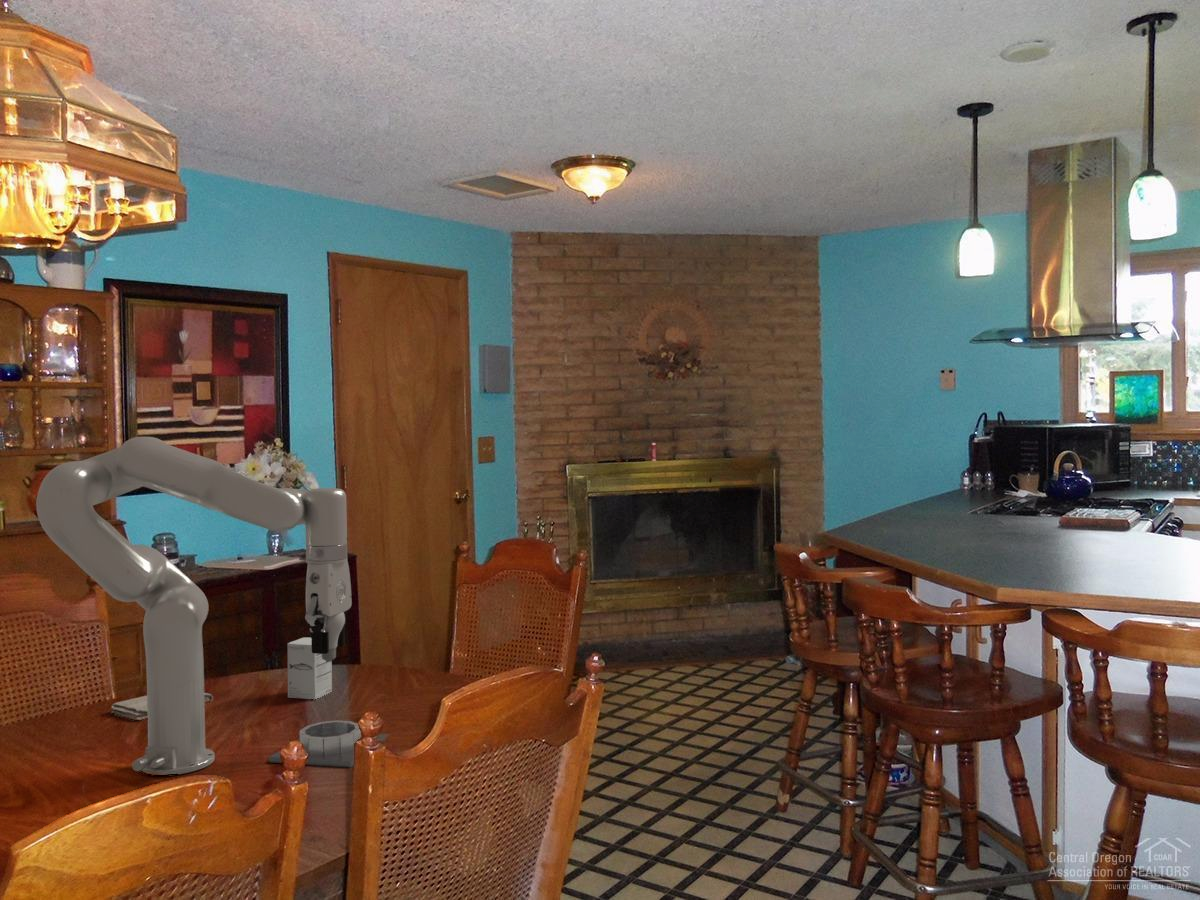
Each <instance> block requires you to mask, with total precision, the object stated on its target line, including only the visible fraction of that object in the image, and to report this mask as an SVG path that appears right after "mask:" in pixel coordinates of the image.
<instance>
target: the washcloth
mask: <svg viewBox="0 0 1200 900" xmlns="http://www.w3.org/2000/svg"><path fill="white" fill-rule="evenodd" d="M204 700H205V702H207V701H211V702H213V700H214V696H213V695H212V694H211V693H208V692H207V693H206V692H204ZM110 707H111V711H110V714H111V715H114V716H116V715H118V716H117V717H119V716H121V717H120V718H122V716H123V717H128V718H132V719H136V720H142V719H145V718H148V713H147V694H146V695H144V696H143V695H142V696H139V697H135V698H130V699H126V700H121V701H117V702H115V703H112V704H111V706H110ZM113 713H114V714H113ZM142 721H143V720H142Z"/></svg>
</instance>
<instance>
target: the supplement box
mask: <svg viewBox="0 0 1200 900" xmlns="http://www.w3.org/2000/svg"><path fill="white" fill-rule="evenodd" d="M332 661H333V660H332ZM332 661H331V662H326V661H325V660H323V659H322V654H315V653H312V642H311V637H301V638H298V639H295V640H293V641H289V642H287V698H288V699H302V700H303V699H305V700H311V699H313V700H312V701H316V700H318V699H317V698H319V699H320V697H321V698H322V696H323V697H325V696H327V695H329V694H331V693H333V691H332V690H333V688H332V687H333V671H332V669H333V668H332V667H333V666H332V664H333V662H332ZM330 692H331V693H330ZM328 693H329V694H328ZM326 694H327V695H326ZM324 695H325V696H324ZM315 699H316V700H315Z"/></svg>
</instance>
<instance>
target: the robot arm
mask: <svg viewBox="0 0 1200 900" xmlns="http://www.w3.org/2000/svg"><path fill="white" fill-rule="evenodd" d="M142 487H144V488H147V489H150V490H154V491H157V492H160V493H163V494H166V495H169V496H172V497H176V498H178V499H180V500H183V501H186V502H190V503H193V504H195V505H197V506H201V507H203V508H205V509H208V510H211V511H215V512H218V513H221V514H224V515H226V516H228V517H230V518H234V519H237V520H239V521H242V522H245V523H248V524H251V525H254V526H257V527H261V528H264V529H267V530H270V531H273V532H278V533H279V532H280V533H281V532H288V531H290V530H292V529H295V527H297V526H300V525H301V526H302V525H304V526H305V563H306V564H307V568H306V576H305V578H306V579H305V616H304V619H305V621H306V622H307V625H308V627H309V632H310V634H311V637H310V638H311V642H312V653H315V654H327V653H328V652H329V632H326V629H327V623H328V617H332V616H335V615H337V614H339V613H341V612H343V613H344V615H345V616H346V615H347V613H348V612H347V611H349V610H350V609H351V607H352V604H353V602H352V584H351V574H350V573H351V572H350V565H349V561H348V523H347V520H348V517H347V516H348V514H347V511H348V509H347V494H346V492H345V490H343V489H341V488H339V487H338V488H337V487H326V488H325V487H323V488H322V487H319V488H313V489H301V488H289V487H280V488H278V487H275V486H272V485H269V484H265V483H263V482H260V481H258V480H255V479H252V478H249V477H248V476H247V477H246V476H244V475H242V474H239V473H238V472H235V470H231V468H229V467H227V466H226V465H225V464H223V463H221V462H219V461H218V460H215V459H211V458H209V457H206V456H202V455H200V454H197V453H193V452H190V451H188V450H185V449H182V448H178V447H176V446H174V445H170V444H169V443H166V442H165V441H163V440H161V439H160V438H158V437H154V436H135V437H131V438H129V439H128V440H126V441H125V442H123V444H122V445H120V446H119V447H117V448H114V449H111V450H108V451H106V452H104V453H101V454H97V455H95V456H92V457H89V458H87V459H83V460H75V461H68V462H63V463H61V464H58V465H57V466H55V467H54V468H52V469H51V470H50V471H49V472H48V473H47V474H46V475H45V476H44V478H43V480H42V482H41V483H40V486H39V489H38V492H37V496H36V501H35V502H36V503H35V504H36V505H35V506H36V514H37V518H38V521H39V523H40V525H41V527H42V529H43V531H44V532H45V534H46V535H47V536H48V538H49V539H50V540H51V541H52V542H53V543H54V544H55V545H56V546H57V547H58V548H59V549H60V550H62V552H64V553H65V554H66V555H67V556H68V557H69V558H70V559H71V560H72V561H74V563H75V564H76V565H78V567H79V568H80V569H82V570H83V571H84V572H85V573H86V574H87V575H88V576H89V577H91V579H92V580H94V582H96V583H97V584H98V585H99V587H101V588H102V589H103V590H104V591H105V592H106V593H107V594H108V595H109V596H111V597H112V598H113V599H114V600H116V601H119V602H123V603H124V602H125V603H132V602H136V603H137V604H138V605H139V606H140V607H141V608H143V609H144V610H145V613H144V617H143V621H142V622H143V623H142V626H143V627H142V629H143V630H142V632H143V633H142V634H143V643H144V650H145V651H144V653H145V668H146V671H145V672H146V695H147V713H148V720H147V746H146V747H145V754H143V756H141V757H139V758H137V759H135V760H134V761H133V762H132V763H131V765H132V766H131V768H132V769H133V770H134V771H135V772H141V771H143V772H146V773H153V774H176V773H177V774H178V775H183V774H189V773H192V772H195V771H200V770H202V769H204V768H207V767H209V766H210V765H211V764H212V763H213V762H214V761H215V757H216V756H215V755H216V754H215V752H214V751H213V750H212V749H210V748H206V715H205V713H206V712H205V705H206V704H205V700H204V693H205V674H204V673H205V671H204V670H205V666H204V647H203V625H204V624H205V621H206V619H207V618H208V614H209V610H210V609H209V606H210V605H209V602H208V599H207V596H206V595H205V593H204V592H203V590H202V589H201V588H200V587H199V586H198V585H197V584H195V583H194V581H192V579H190V578H189V577H188V576H187V575H186V574H185V573H184V572H182V570H181V569H180V568H178V567H177V566H176V565H175V564H174V563H173V562H172V561H171V560H170V559H168V557H167V556H165V555H164V554H163V553H162V552H160V551H159V550H157V549H155V548H154V547H152V546H149V545H146V544H133V543H132V542H131V541H129V540H128V539H127V538H126V537H124V536H123V534H121V533H120V532H119V531H118V530H117V529H116V528H115V526H113V525H112V524H111V523H110V522H108V521H107V520H105V519H104V518H103V517H102V516H100V515H99V513H97V511H96V510H95V508H94V506H96V505H98V504H101V503H104V502H107V501H110V500H111V499H114V498H116V497H119V496H122V495H125V494H126V493H130V492H132V491H135V490H137V489H141V488H142ZM317 612H322V613H323V615H317ZM317 619H322V624H321V622H320V621H319V620H317ZM345 624H346V622H345V623H344V626H343V628H342V630H341V632H340V634H339V637H338V642H337V647H343V646H345V640H346V639H345ZM140 770H141V771H140Z"/></svg>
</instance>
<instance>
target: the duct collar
mask: <svg viewBox="0 0 1200 900" xmlns="http://www.w3.org/2000/svg"><path fill="white" fill-rule="evenodd" d="M358 724H359V723H357V722H354V721H350V720H328V721H321V722H315V723H312V724H309V725H306V726H305V727H303V728H301V729H300V730H299V738H297V739H296V740H295V741H300V742H301V743H302V744H303V746H304V748H305V750H306V751H307V753H308V762H307V765H306V766H320V767H321V766H322V767H334V768H335V767H336V768H337V767H338V768H349V769H351V768H352V767H353V766H354V765H353V764H354V743H355V742H356V741H357V740H358V739H360V738H361V737H362V735H361V733H362V730H361V731H360V729H359V726H358ZM378 734H379V735H378V736H377V737H379V738H377V737H376V738H377V739H378V740H380V741H382V740H384V741H385V738H386V737H388V736H389V735H388V733H387V734H384V733H378ZM388 738H389V737H388ZM385 742H386V741H385ZM268 760H269V763H271V764H272V763H273V764H275V763H276V764H283V763H282V761H281V758H280V750H278V751H277V752H275V753H273V754H271V755H270V756H269V758H268Z"/></svg>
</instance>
